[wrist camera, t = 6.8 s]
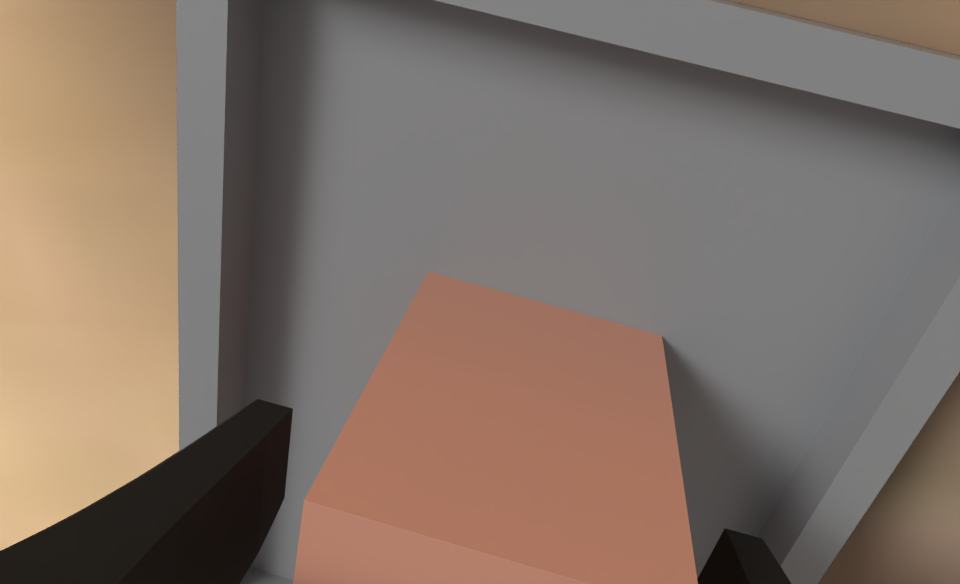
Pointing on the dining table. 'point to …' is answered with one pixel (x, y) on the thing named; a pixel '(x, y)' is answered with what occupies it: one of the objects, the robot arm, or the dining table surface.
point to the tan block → (503, 454)
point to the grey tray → (580, 225)
